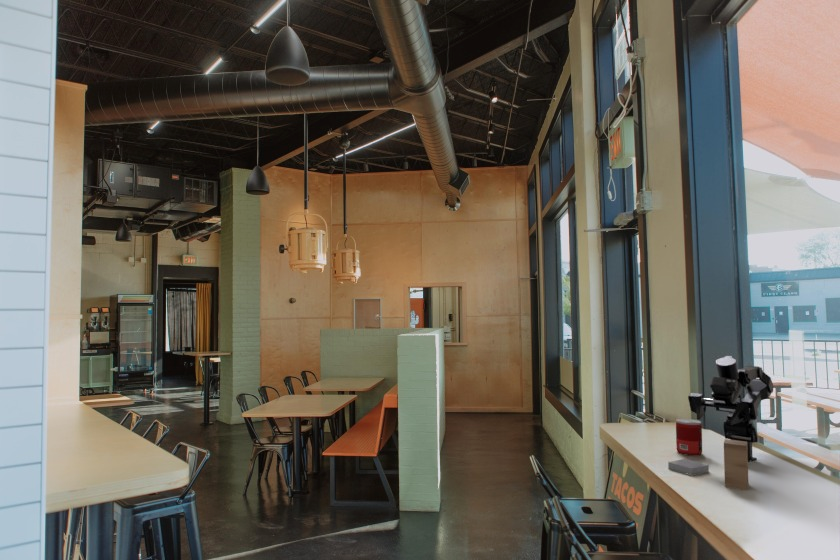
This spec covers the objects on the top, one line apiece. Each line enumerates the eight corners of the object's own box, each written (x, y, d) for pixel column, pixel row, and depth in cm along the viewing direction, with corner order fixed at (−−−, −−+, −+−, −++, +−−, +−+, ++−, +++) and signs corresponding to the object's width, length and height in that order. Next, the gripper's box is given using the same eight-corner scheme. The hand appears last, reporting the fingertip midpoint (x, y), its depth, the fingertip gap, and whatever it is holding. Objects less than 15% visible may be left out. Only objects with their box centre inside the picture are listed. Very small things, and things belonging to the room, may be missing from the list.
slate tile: (684, 466, 172) (684, 458, 173) (708, 473, 165) (708, 465, 166) (668, 470, 168) (668, 462, 169) (692, 477, 161) (692, 468, 162)
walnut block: (726, 481, 156) (725, 439, 157) (748, 484, 153) (747, 441, 154) (724, 486, 151) (723, 442, 152) (747, 490, 148) (746, 445, 149)
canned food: (705, 456, 183) (704, 423, 184) (679, 455, 185) (679, 422, 186) (698, 450, 191) (697, 419, 191) (674, 449, 192) (673, 418, 193)
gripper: (693, 369, 179) (676, 394, 169) (757, 373, 165) (743, 402, 155) (699, 398, 182) (683, 424, 172) (763, 405, 168) (750, 434, 158)
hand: (713, 421), depth 164 cm, fingers open, 9 cm apart
